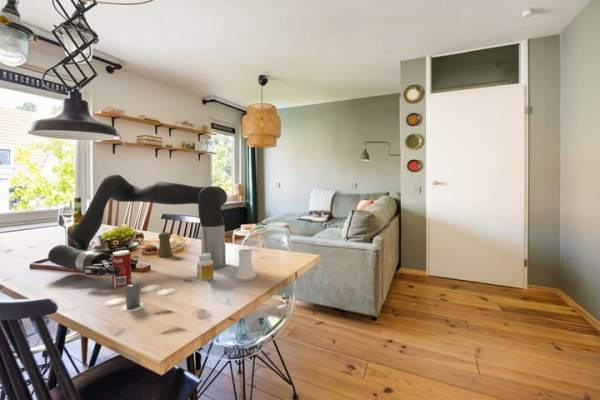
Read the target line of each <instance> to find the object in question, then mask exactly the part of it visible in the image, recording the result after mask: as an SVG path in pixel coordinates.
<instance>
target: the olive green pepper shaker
mask: <svg viewBox="0 0 600 400" xmlns="http://www.w3.org/2000/svg"><path fill="white" fill-rule="evenodd" d="M171 238H172V234H171V233H170V232H161V233H159V234H158V239H159V245H158V254H157V257H158V258H169V257H173V253H172V252H173V251H172V247H171Z"/></svg>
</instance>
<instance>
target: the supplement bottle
mask: <svg viewBox="0 0 600 400" xmlns="http://www.w3.org/2000/svg"><path fill="white" fill-rule="evenodd" d="M210 258H211V254H210V253H202V252H201V253H199V254H198V259H199V260H198V261H197V262H196V274H197V276H196V277H197V278H196V279H197V280H198V281H207V283H208V284H211V283H213V281H214V269H213V260H211V259H210Z"/></svg>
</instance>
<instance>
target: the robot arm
mask: <svg viewBox="0 0 600 400" xmlns="http://www.w3.org/2000/svg"><path fill="white" fill-rule="evenodd" d="M110 199H112V200H113V201H115V202H120V203H121V202H125V203H128V202H132V203H133V202H134V203H135V202H139V203H140V202H141V203H151V204H159V205H171V206H172V205H173V206H174V205H175V206H176V205H190V204H196V205H197V206H198V209H197V210H198V219H199V221H200V231H201V232H200V238H201V239H200V243H201V245H200V246H201V247H200V248H201V249H200V250H201V254H202V253H210V254H211V258H210V259H211V260H213V270H217V269H221V268H225V267H226V266H227V264H226V263H227V262H226V243H225V242H226V241H225V235H226V234H225V233H226V232H225V218H224V217H223V216H222V206H223V205H225V204H226V202H227V201H228V194H227V192H226V191H225V190H224V189H223V188H222V187H220V186H216V185H213V186H211V185H210V186H193V185H187V184H184V183H183V184H182V183H176V182H175V183H174V182H167V181H156V182H152V183H150V184H148V185H146V186H143V185H135V184H134V185H133V184H131V183H130V182H129V181H127V179H125V178H124V177H123V176H122V175H121V174H119V173H118V174H117V173H111V174H109V175H107V176H106V177H105V178H103V180H102V181H101V182H100V184H99V186H98V188H97V191H96V192H95V194H94V196H93V197H92V199H91V201H90V203H89V206H88V208H87V210H86V211H85V213H84V215H83V216H82V218H81V219H80V220H79V222H78V223H77V224H76V225H75V226H74V228H73V230H72V231H71V232H70V234H69V236H68V238H69V239H70V240H71V241H72V242H73V243H74V244H75V247H73V246H70V245H67V244H59V245H56V246H54V247H52V248H51V249H50V250H49V251H48V255H47V258H48V260H49V262H50V263H52V264H53V265H56V266H60V267H63V268H65V269H69V270H75V271H76V270H77V271H81V272H84V273H85V275H86V276H97V277H102V276H104V275H112V274H113V275H119V268H117V267H112V256H113V255H112V256H111V254H109V253H107V252H101V251H96V250H88V249H89V246H90V244H91V242H92V240H93V239H94V237H95V236H96V234H97V233H98V231H99V230H100V229H101V226H102V223H103V220H104V215H105V211H106V207H107V204H108V202H109V200H110ZM136 269H137V263H135V262H134V259H133V258H131V271H134V270H136Z"/></svg>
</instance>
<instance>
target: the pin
mask: <svg viewBox="0 0 600 400" xmlns="http://www.w3.org/2000/svg"><path fill="white" fill-rule="evenodd" d="M124 287H125V298H126V303H125V305H126V309H128V310H131V309H136V308H138V307H140V302H141V299H140V298H141V296H140V295H141V294H140V293H141V289H140V283H138V282H133V283H131V284H128V285H126V286H124Z"/></svg>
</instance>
